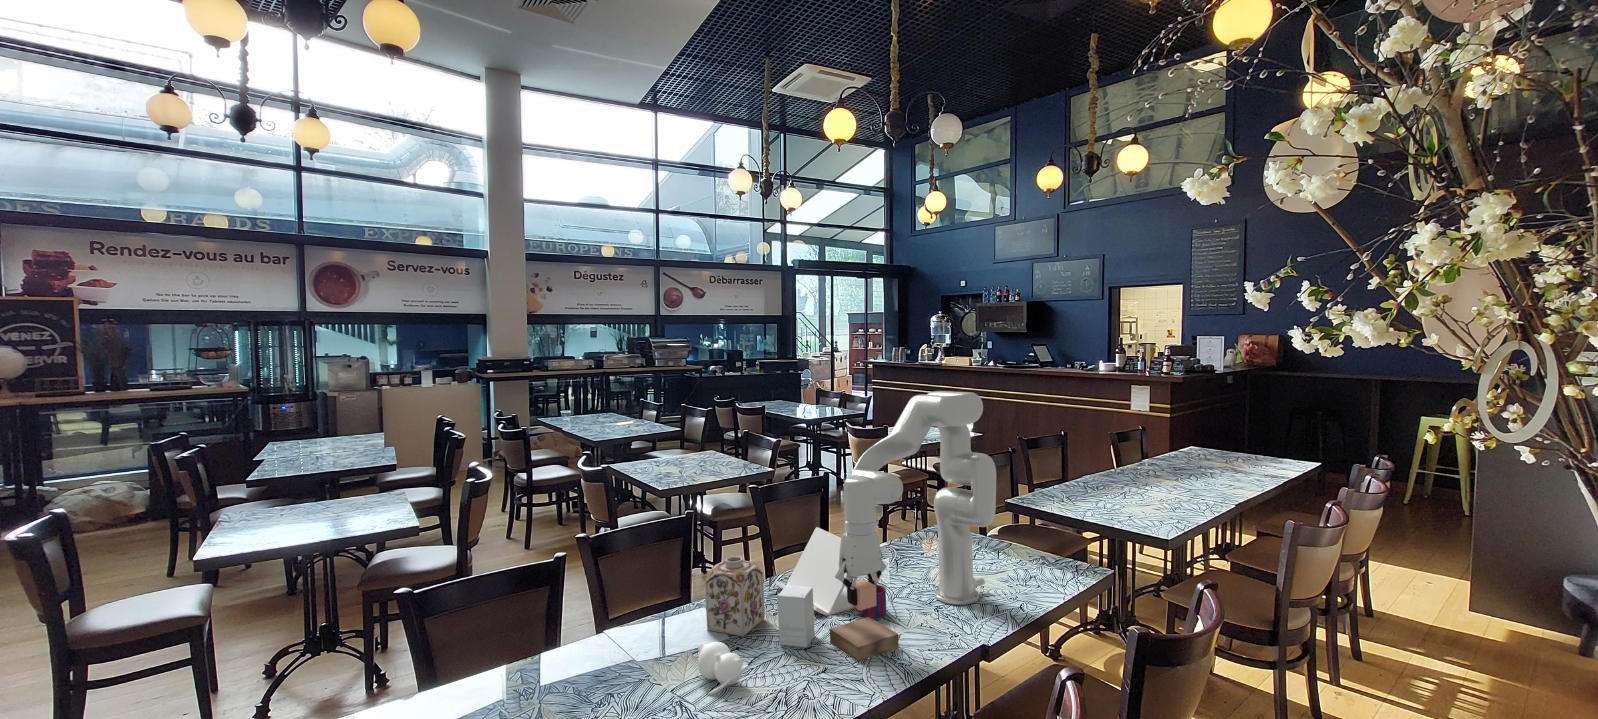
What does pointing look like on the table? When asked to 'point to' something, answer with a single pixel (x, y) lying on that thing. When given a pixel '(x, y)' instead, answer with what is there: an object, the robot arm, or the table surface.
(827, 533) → the tablet stand
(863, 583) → the terracotta cube
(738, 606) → the decorative jar
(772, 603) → the table surface
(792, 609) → the supplement box
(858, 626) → the walnut block
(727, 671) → the cat figurine
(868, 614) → the mug
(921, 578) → the table surface
